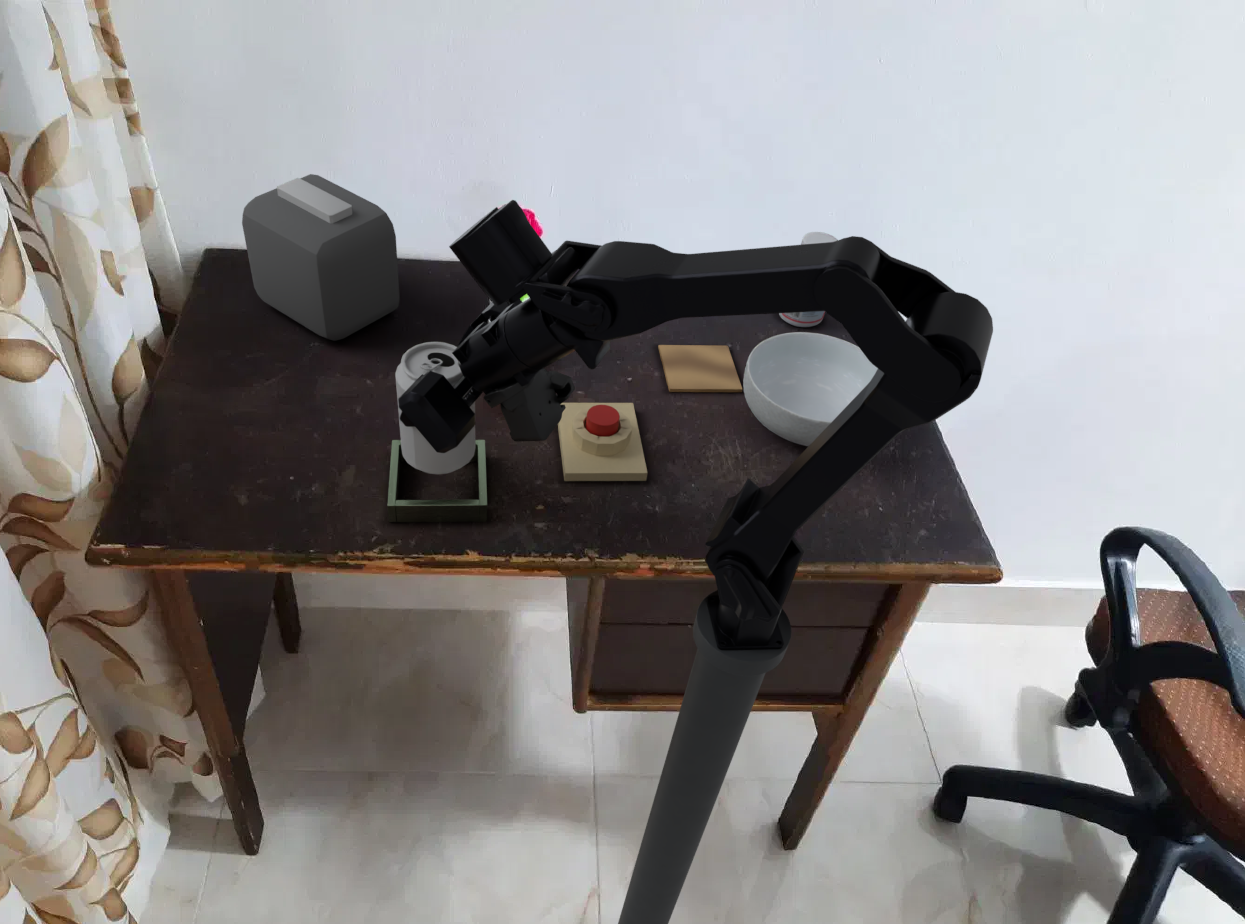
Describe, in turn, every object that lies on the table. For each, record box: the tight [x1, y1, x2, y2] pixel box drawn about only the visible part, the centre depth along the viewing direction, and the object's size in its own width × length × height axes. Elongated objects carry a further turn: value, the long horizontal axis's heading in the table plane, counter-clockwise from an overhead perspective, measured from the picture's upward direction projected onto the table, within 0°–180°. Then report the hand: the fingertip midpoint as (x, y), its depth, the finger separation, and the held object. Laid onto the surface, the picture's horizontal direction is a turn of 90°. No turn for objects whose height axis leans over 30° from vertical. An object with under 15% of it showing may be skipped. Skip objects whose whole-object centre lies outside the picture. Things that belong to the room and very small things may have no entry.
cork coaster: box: [657, 344, 743, 393], centre depth 118 cm, size 9×9×1 cm
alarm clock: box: [241, 173, 401, 342], centre depth 116 cm, size 16×11×16 cm
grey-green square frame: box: [387, 439, 488, 523], centre depth 100 cm, size 10×10×2 cm
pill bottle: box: [778, 231, 839, 328], centre depth 124 cm, size 6×6×11 cm
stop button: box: [586, 405, 620, 437], centre depth 105 cm, size 4×4×2 cm
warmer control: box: [557, 402, 648, 482], centre depth 106 cm, size 12×9×3 cm
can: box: [394, 341, 476, 475], centre depth 93 cm, size 8×8×12 cm
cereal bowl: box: [742, 331, 878, 447], centre depth 109 cm, size 17×17×7 cm
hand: (424, 399), depth 93 cm, fingers closed on can, 7 cm apart
